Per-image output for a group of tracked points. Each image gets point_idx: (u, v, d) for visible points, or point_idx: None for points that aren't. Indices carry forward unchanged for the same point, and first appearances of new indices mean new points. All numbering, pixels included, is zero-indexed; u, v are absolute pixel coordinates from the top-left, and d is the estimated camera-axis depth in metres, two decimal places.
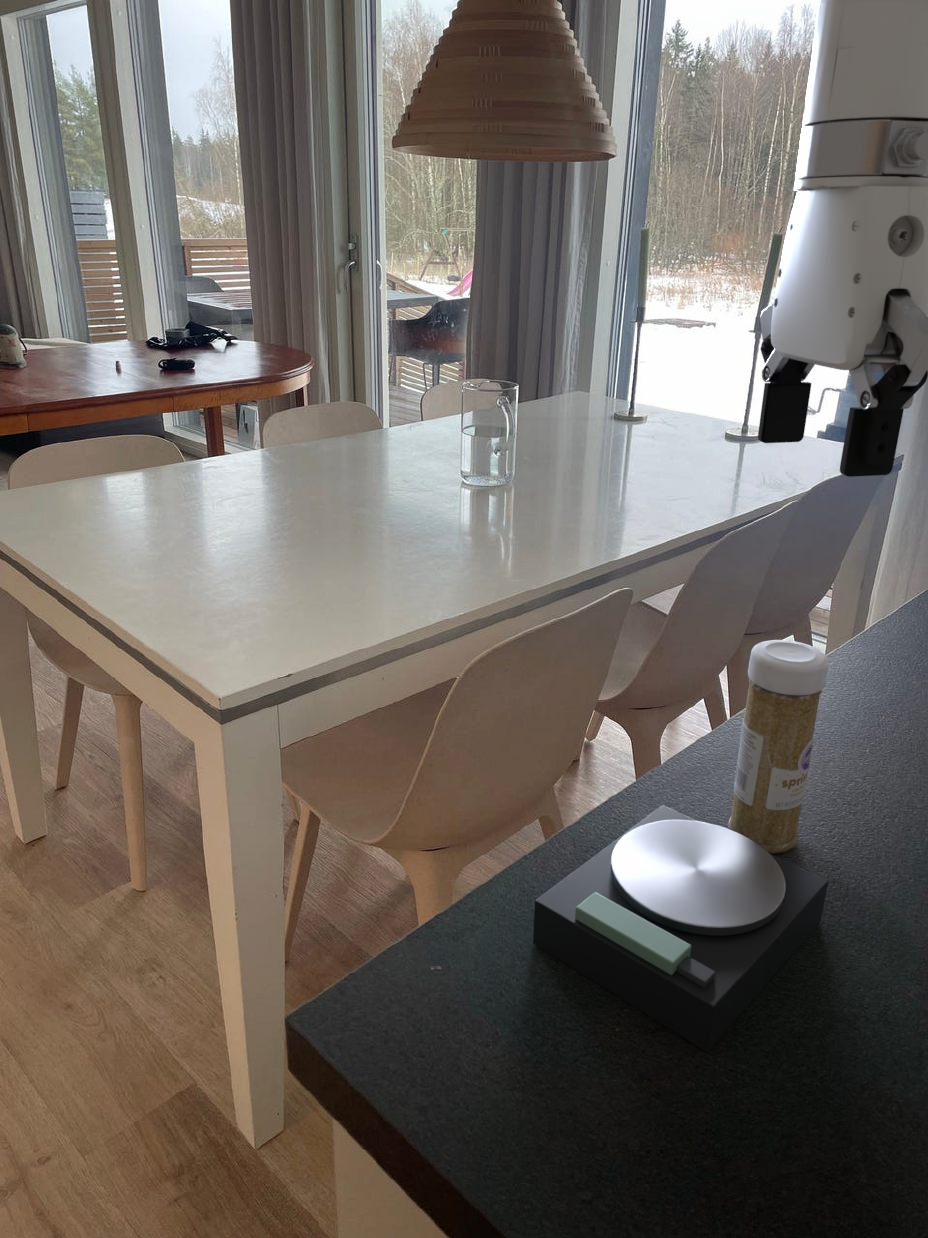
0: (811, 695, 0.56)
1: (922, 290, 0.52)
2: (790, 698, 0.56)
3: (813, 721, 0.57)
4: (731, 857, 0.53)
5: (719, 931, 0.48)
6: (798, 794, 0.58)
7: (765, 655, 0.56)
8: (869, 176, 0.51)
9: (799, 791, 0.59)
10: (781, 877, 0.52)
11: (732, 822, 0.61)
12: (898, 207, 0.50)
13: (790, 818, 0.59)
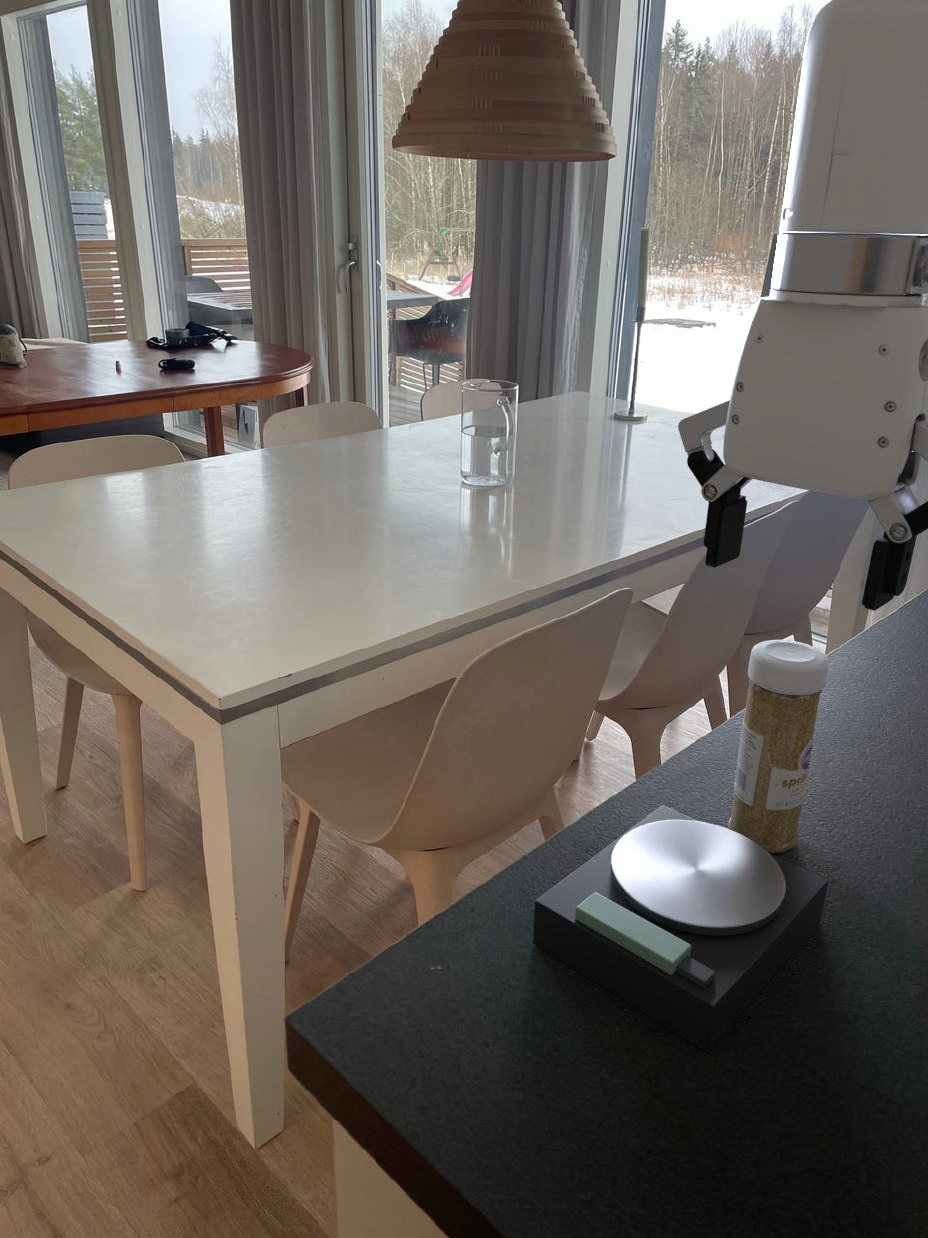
0: (811, 695, 0.56)
1: None
2: (790, 698, 0.56)
3: (813, 721, 0.57)
4: (731, 857, 0.53)
5: (719, 931, 0.48)
6: (798, 794, 0.58)
7: (765, 655, 0.56)
8: (895, 296, 0.46)
9: (799, 791, 0.59)
10: (781, 877, 0.52)
11: (732, 822, 0.61)
12: (924, 330, 0.46)
13: (790, 818, 0.59)
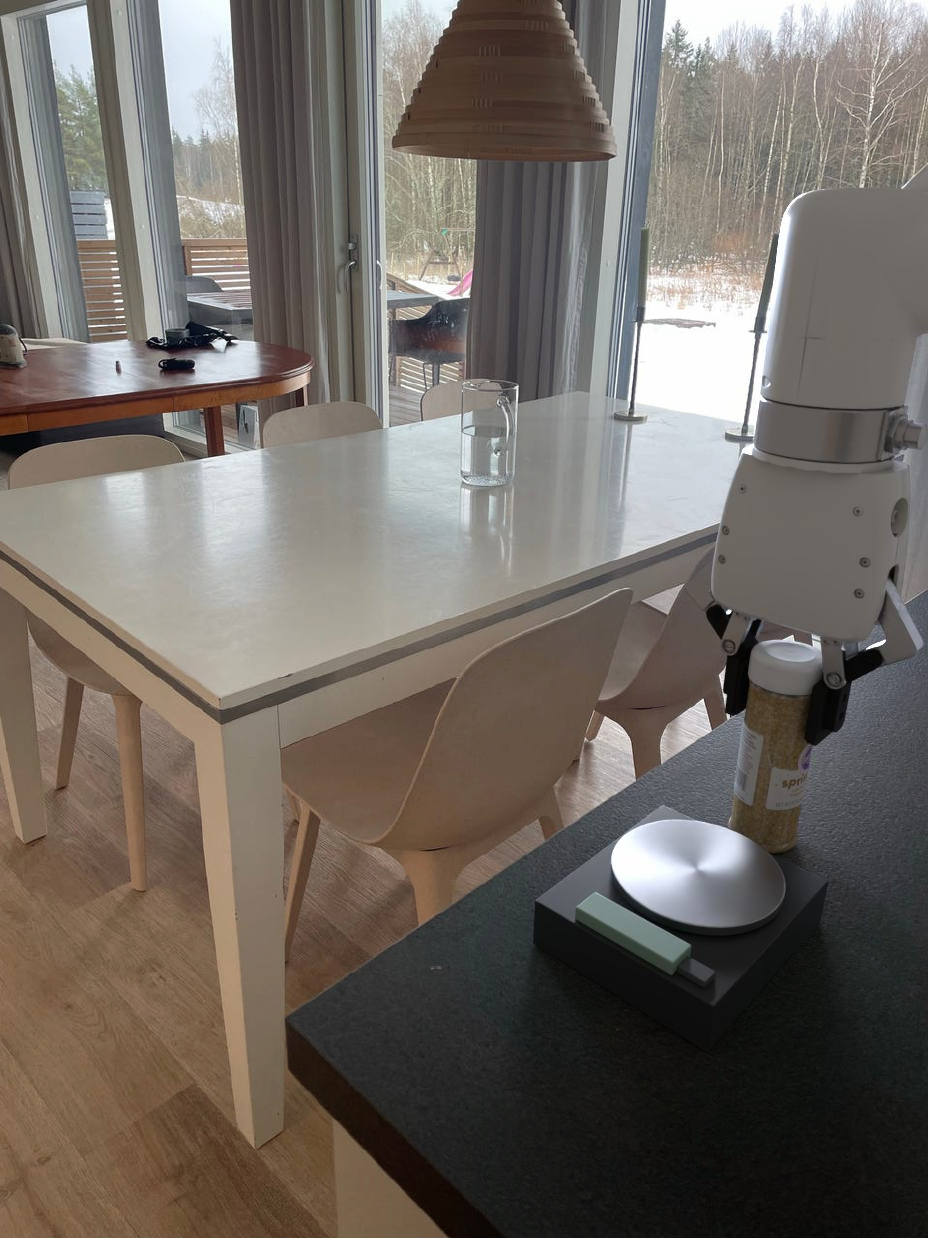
0: None
1: (904, 561, 0.52)
2: (790, 698, 0.56)
3: None
4: (731, 857, 0.53)
5: (719, 931, 0.48)
6: (798, 794, 0.58)
7: (765, 655, 0.56)
8: (868, 463, 0.49)
9: (799, 791, 0.59)
10: (781, 877, 0.52)
11: (732, 822, 0.61)
12: (895, 493, 0.49)
13: (790, 818, 0.59)
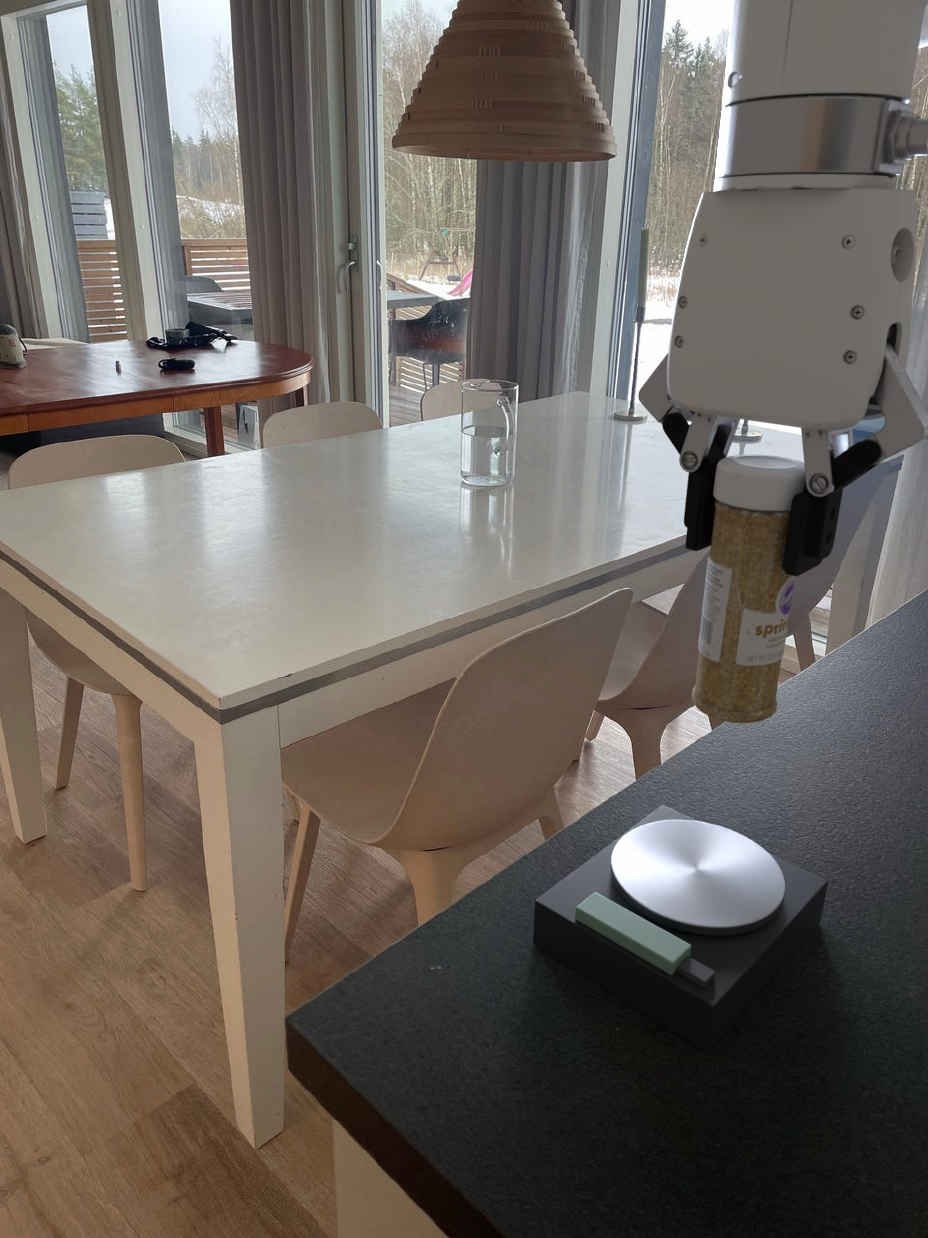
0: None
1: (908, 323, 0.41)
2: (764, 515, 0.44)
3: None
4: (731, 857, 0.53)
5: (719, 931, 0.48)
6: (776, 645, 0.47)
7: (733, 464, 0.45)
8: (861, 174, 0.37)
9: (778, 642, 0.47)
10: (781, 877, 0.52)
11: (696, 688, 0.50)
12: (897, 217, 0.38)
13: (766, 677, 0.48)
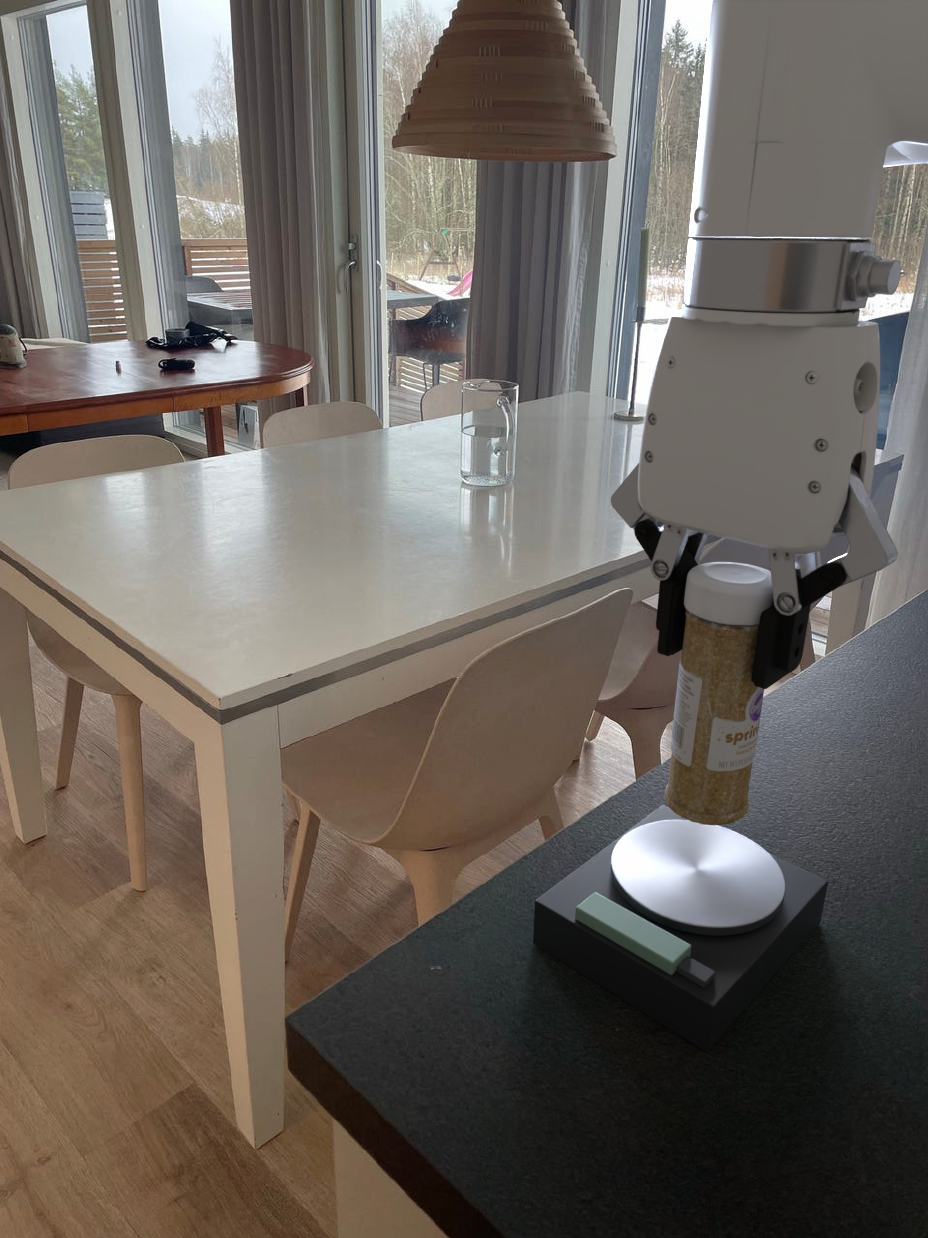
0: None
1: (873, 449, 0.41)
2: (733, 629, 0.45)
3: None
4: (731, 857, 0.53)
5: (719, 931, 0.48)
6: (746, 751, 0.47)
7: (702, 577, 0.45)
8: (823, 314, 0.38)
9: (748, 747, 0.48)
10: (781, 877, 0.52)
11: (669, 788, 0.50)
12: (860, 354, 0.38)
13: (737, 781, 0.48)
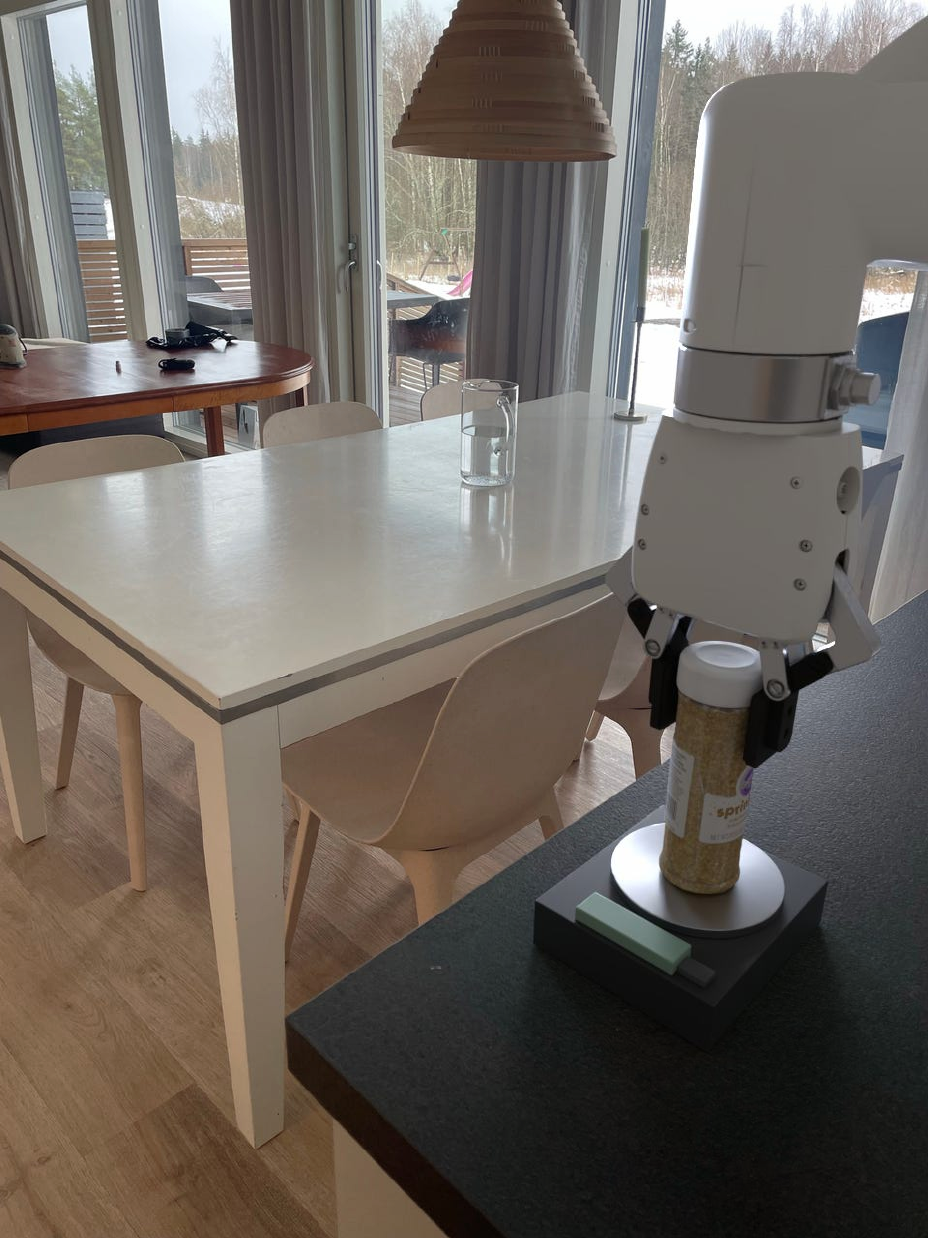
0: (749, 707, 0.47)
1: (856, 545, 0.43)
2: (723, 711, 0.46)
3: None
4: None
5: (718, 934, 0.48)
6: (737, 824, 0.49)
7: (694, 660, 0.47)
8: (807, 423, 0.39)
9: (739, 821, 0.49)
10: (781, 880, 0.52)
11: (663, 856, 0.52)
12: (842, 460, 0.40)
13: (728, 852, 0.50)
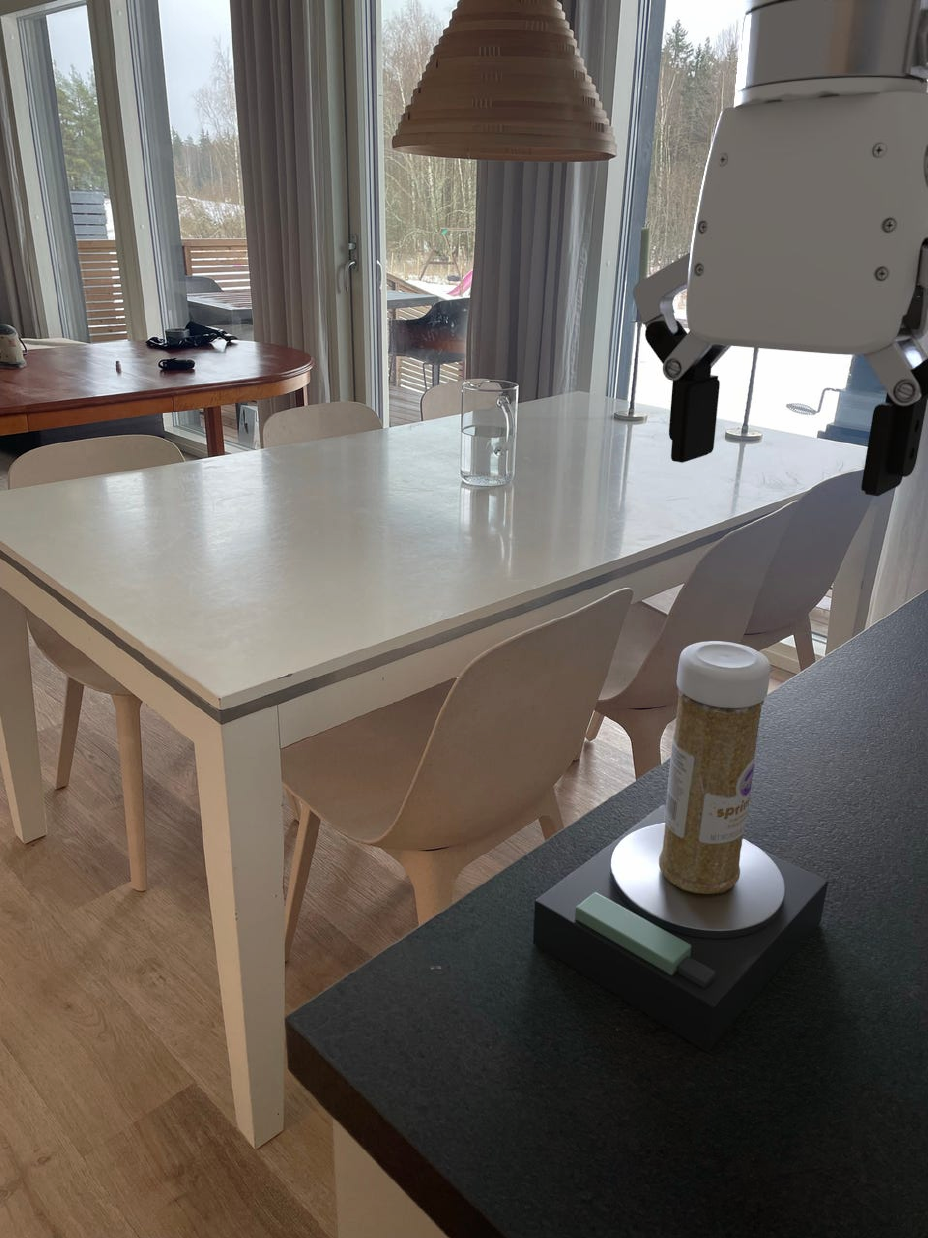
0: (749, 708, 0.47)
1: None
2: (723, 711, 0.46)
3: (753, 738, 0.48)
4: None
5: (718, 934, 0.48)
6: (737, 824, 0.49)
7: (694, 660, 0.47)
8: (892, 78, 0.35)
9: (739, 821, 0.49)
10: (780, 880, 0.52)
11: (663, 856, 0.52)
12: None
13: (729, 852, 0.50)
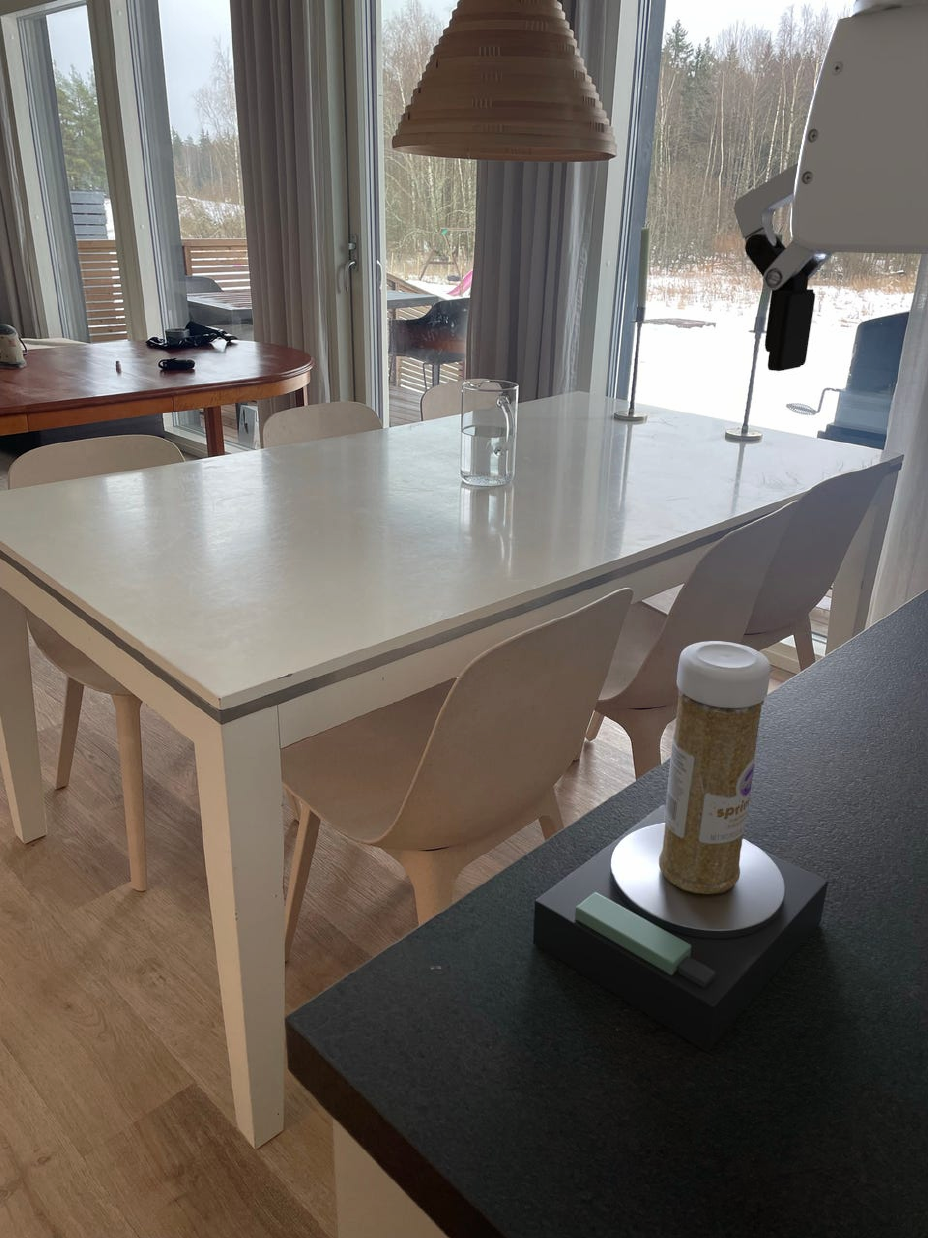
0: (749, 708, 0.47)
1: None
2: (723, 711, 0.46)
3: (753, 738, 0.48)
4: None
5: (718, 934, 0.48)
6: (737, 824, 0.49)
7: (694, 660, 0.47)
8: None
9: (739, 821, 0.49)
10: (780, 880, 0.52)
11: (663, 856, 0.52)
12: None
13: (729, 852, 0.50)
